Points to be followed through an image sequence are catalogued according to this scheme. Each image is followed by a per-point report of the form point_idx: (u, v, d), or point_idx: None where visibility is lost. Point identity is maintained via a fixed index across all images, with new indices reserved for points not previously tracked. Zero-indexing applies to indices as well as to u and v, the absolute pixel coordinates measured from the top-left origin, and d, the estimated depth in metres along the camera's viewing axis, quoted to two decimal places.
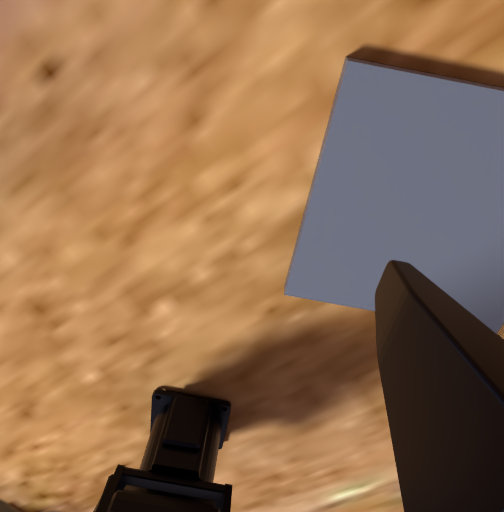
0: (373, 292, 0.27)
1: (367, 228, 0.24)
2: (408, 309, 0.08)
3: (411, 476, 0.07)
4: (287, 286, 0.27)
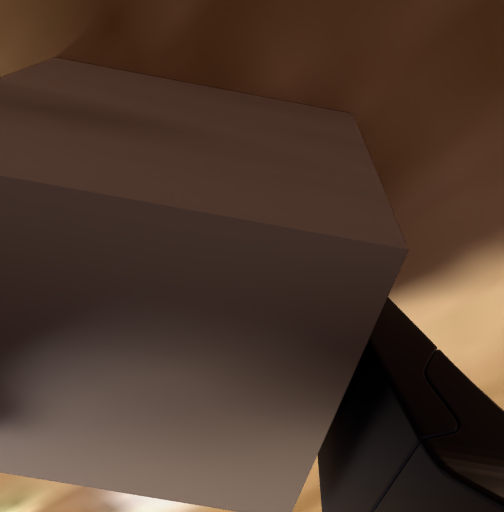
0: None
1: None
2: None
3: (326, 462, 0.07)
4: None
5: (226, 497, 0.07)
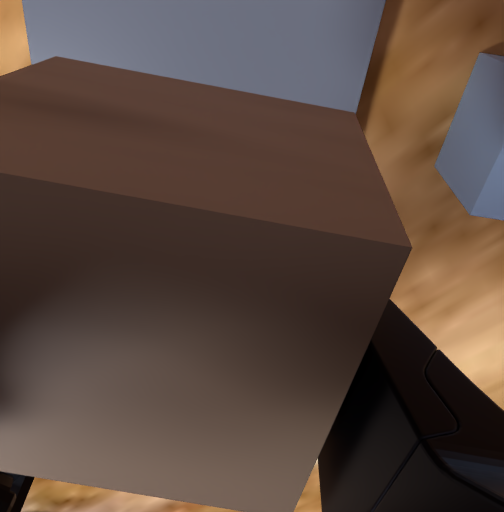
0: None
1: None
2: None
3: (326, 462, 0.07)
4: None
5: (227, 497, 0.07)
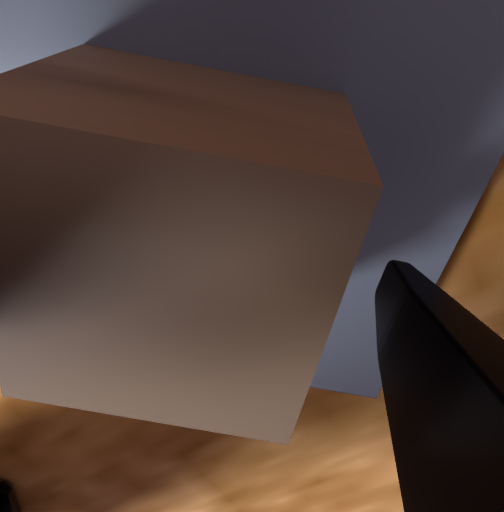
0: None
1: None
2: (408, 309, 0.08)
3: (411, 476, 0.07)
4: None
5: (234, 423, 0.09)
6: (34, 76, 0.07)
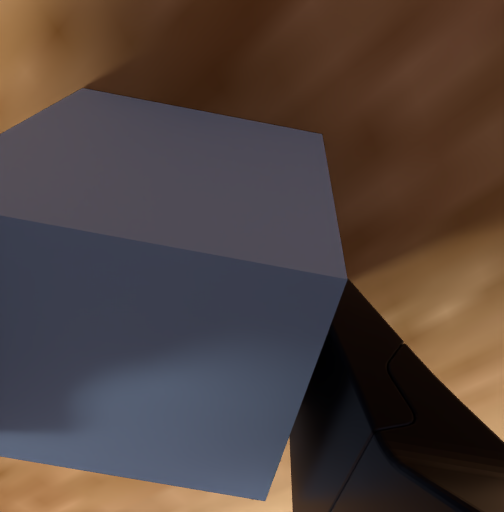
0: None
1: None
2: None
3: (297, 457, 0.07)
4: None
5: None
6: None
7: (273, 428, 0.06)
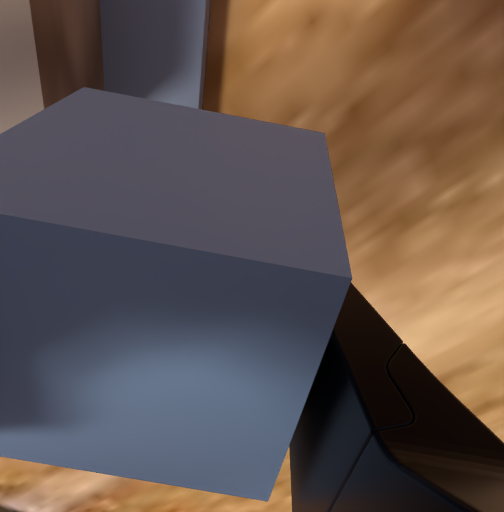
0: None
1: None
2: None
3: (296, 457, 0.07)
4: None
5: None
6: None
7: (276, 428, 0.06)
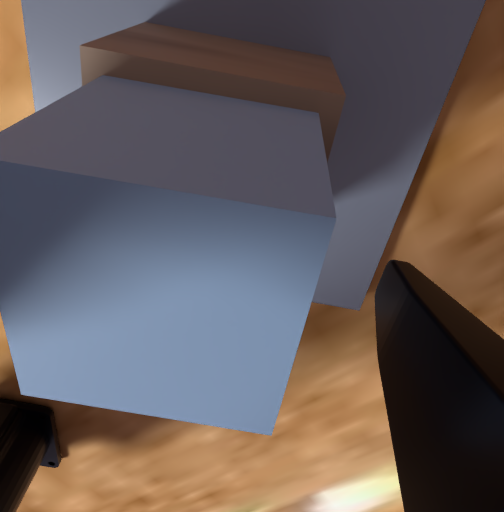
0: None
1: None
2: (408, 309, 0.08)
3: (411, 476, 0.07)
4: None
5: None
6: (128, 37, 0.11)
7: (277, 361, 0.07)
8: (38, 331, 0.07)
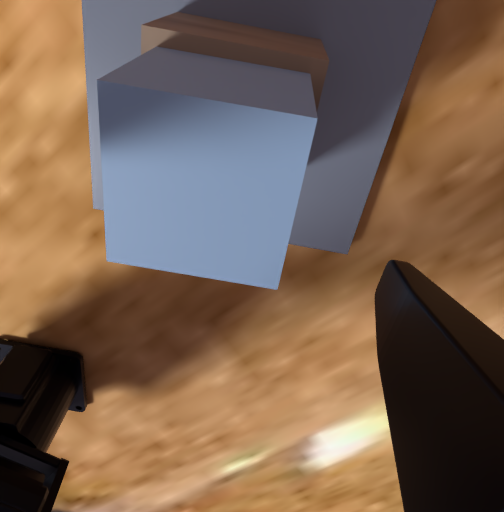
0: None
1: None
2: (408, 309, 0.08)
3: (411, 476, 0.07)
4: (94, 197, 0.23)
5: None
6: (170, 21, 0.15)
7: (282, 226, 0.11)
8: (126, 207, 0.11)
